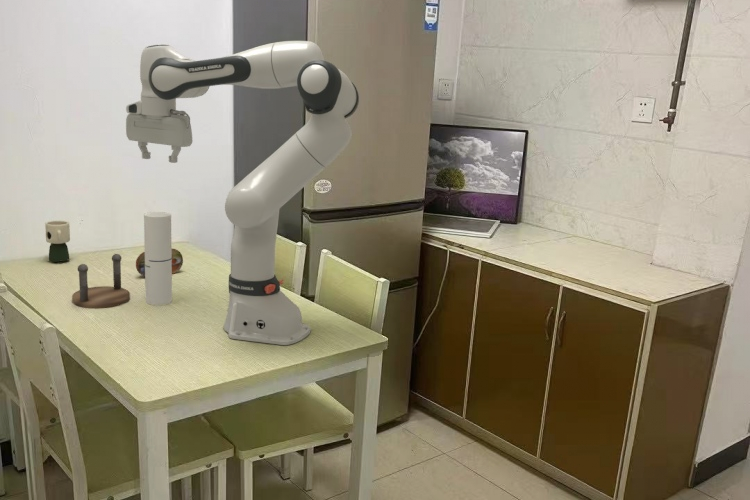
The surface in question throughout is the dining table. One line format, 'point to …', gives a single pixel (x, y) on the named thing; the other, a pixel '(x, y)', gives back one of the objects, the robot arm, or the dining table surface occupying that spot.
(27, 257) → the dining table surface
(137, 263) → the tin
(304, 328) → the robot arm
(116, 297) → the roll holder
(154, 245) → the cylindrical container
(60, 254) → the character mug
